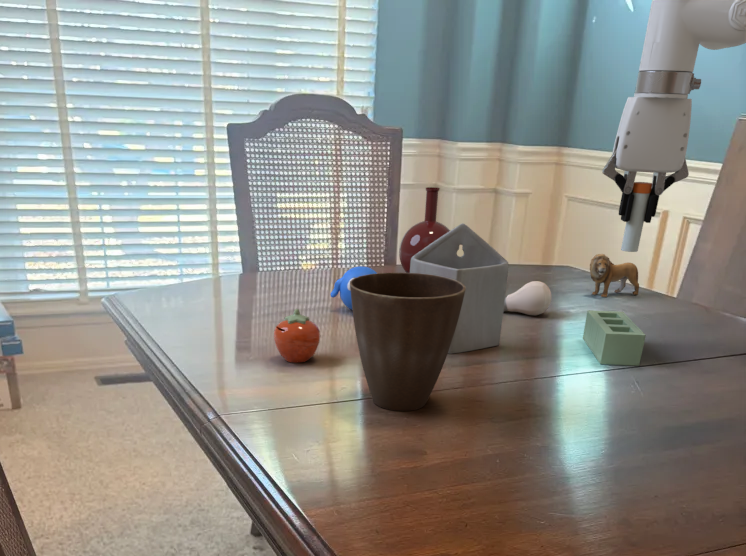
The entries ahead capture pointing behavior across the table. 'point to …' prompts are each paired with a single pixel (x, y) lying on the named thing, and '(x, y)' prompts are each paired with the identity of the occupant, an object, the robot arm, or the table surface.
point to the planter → (469, 284)
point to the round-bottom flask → (422, 231)
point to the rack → (613, 338)
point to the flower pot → (404, 333)
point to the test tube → (636, 217)
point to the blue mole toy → (344, 283)
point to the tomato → (296, 338)
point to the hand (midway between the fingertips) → (635, 220)
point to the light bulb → (529, 299)
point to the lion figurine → (612, 274)
